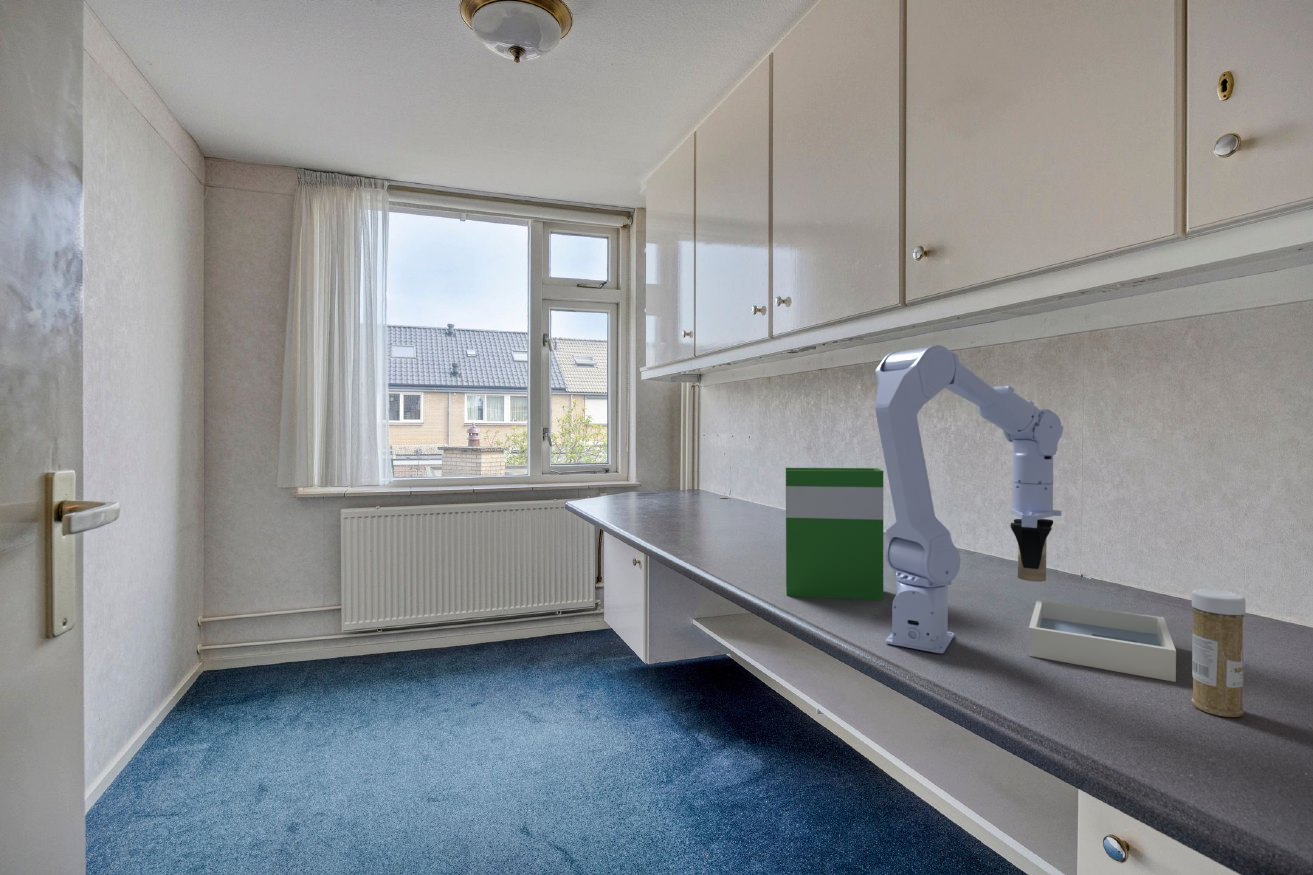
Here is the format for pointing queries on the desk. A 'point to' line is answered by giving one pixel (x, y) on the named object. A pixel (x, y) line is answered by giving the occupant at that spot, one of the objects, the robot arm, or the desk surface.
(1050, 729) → the desk surface
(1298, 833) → the desk surface
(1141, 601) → the desk surface
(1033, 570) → the wooden cylinder
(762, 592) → the desk surface
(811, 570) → the hardback book
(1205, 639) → the sprinkles bottle
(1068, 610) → the box
